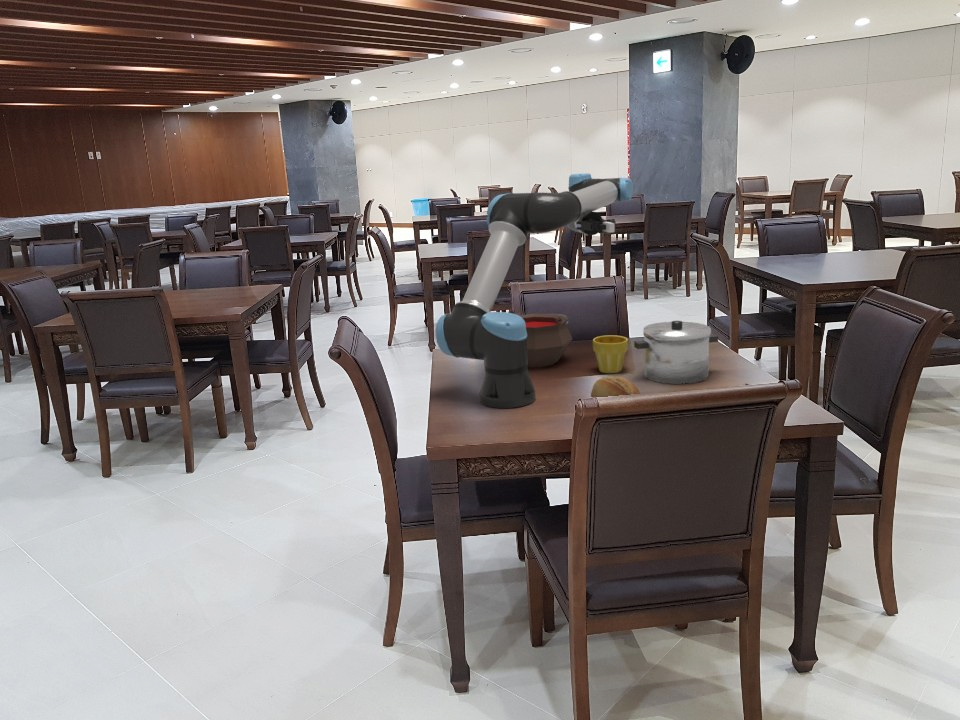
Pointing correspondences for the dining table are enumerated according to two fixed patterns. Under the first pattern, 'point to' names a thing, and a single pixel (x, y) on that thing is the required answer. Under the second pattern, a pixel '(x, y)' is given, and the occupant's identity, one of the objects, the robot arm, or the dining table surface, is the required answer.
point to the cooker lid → (677, 331)
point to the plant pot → (610, 352)
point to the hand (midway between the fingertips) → (612, 227)
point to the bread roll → (613, 387)
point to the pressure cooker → (676, 360)
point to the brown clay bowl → (545, 338)
